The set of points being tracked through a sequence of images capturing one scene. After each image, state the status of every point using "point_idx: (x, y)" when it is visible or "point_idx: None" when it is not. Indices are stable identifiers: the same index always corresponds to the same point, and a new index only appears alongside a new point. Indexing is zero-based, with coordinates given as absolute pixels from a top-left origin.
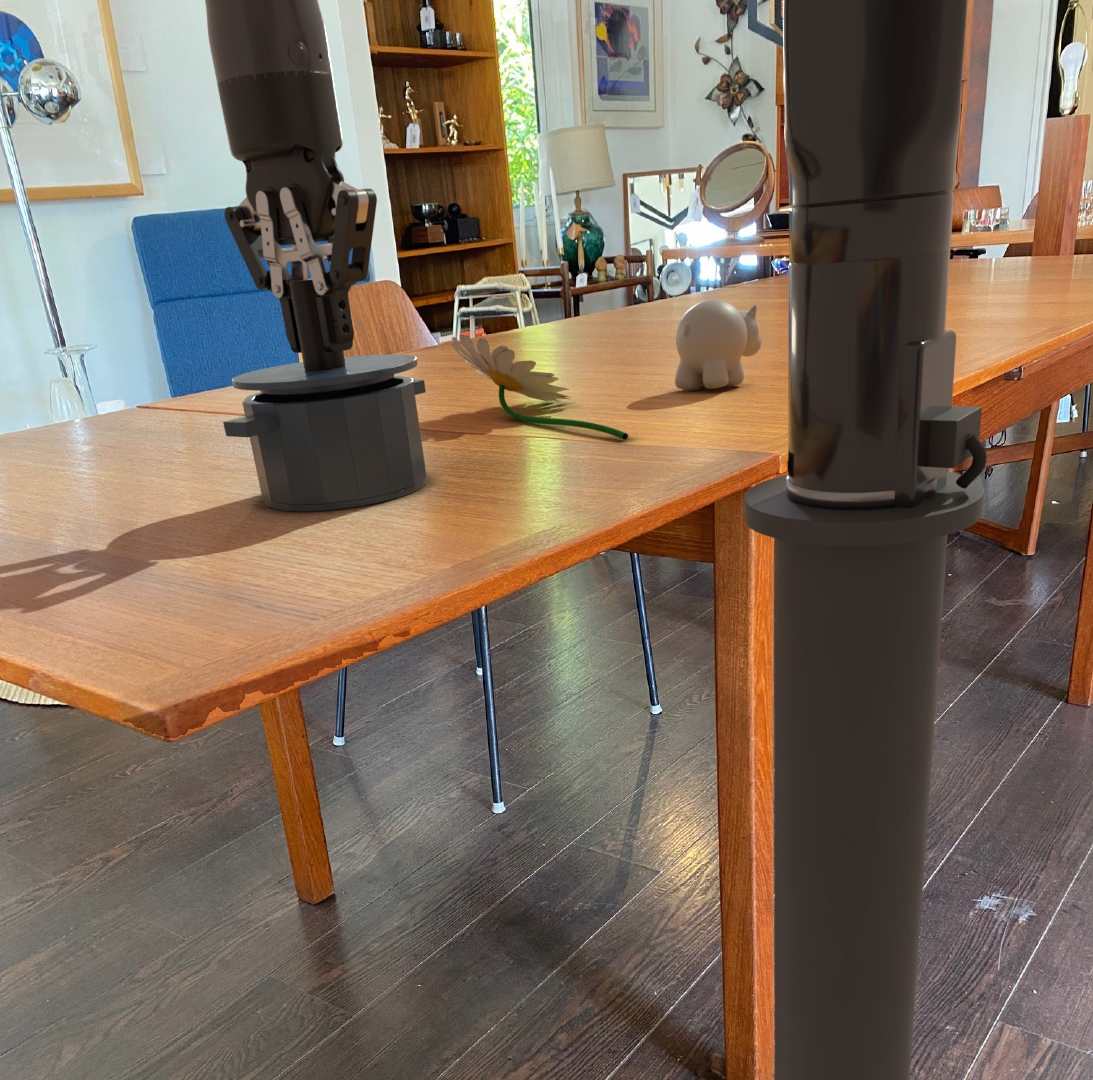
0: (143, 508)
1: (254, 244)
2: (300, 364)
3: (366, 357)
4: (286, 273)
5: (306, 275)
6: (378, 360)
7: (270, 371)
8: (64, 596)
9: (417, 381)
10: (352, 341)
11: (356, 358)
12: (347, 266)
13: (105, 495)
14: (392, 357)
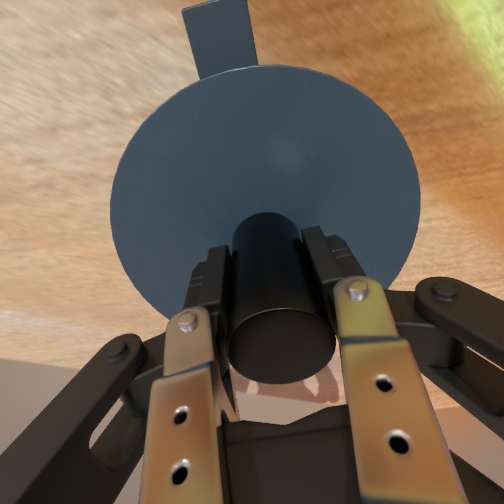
0: (135, 310)
1: (101, 498)
2: (150, 231)
3: (211, 127)
4: (231, 392)
5: (212, 338)
6: (300, 154)
7: (186, 289)
8: (329, 388)
9: (249, 18)
10: (319, 227)
11: (200, 145)
12: (480, 357)
13: (38, 312)
14: (295, 112)
